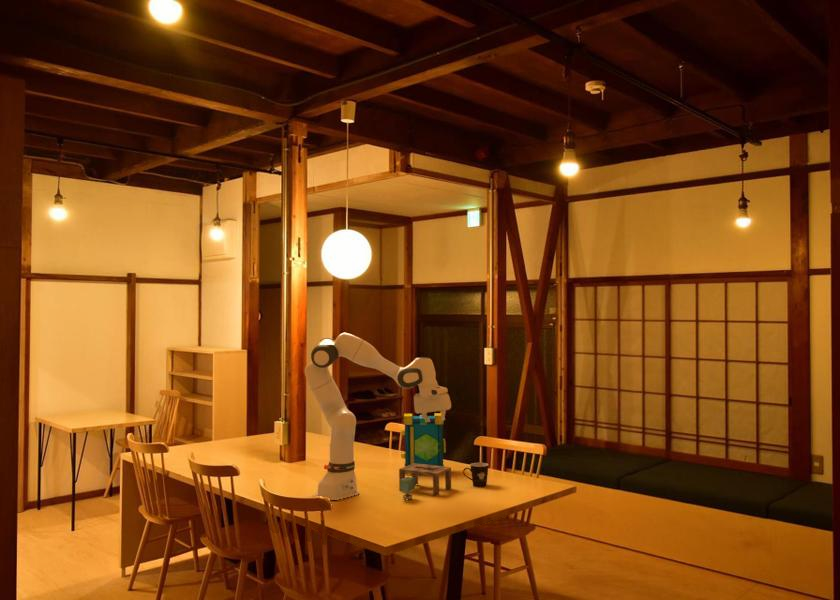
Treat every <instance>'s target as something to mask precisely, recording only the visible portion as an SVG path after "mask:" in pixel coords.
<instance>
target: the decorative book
mask: <svg viewBox="0 0 840 600" xmlns="http://www.w3.org/2000/svg"><path fill="white" fill-rule="evenodd" d="M441 414H442V413H440V412H439V413H437V412H434V415H427V417H428V418H430V422H425V419H424V417H423V416H422V414H420V415H413V413H403V425H404V430H403V429H402V430H400V435H401V436H404V446H405V447H404V452H402V453H400V458H401V459H404V460H405V462H404V467H406V466H408V465H411V464H414V463H417V464H426V465H435V466H444V467H445V464H444V453H447V452H446V451H447V449H446V448H447V445H446V442H447V441H446V439H445V438H444V421H440V417H441ZM432 471H433V470H432ZM405 474H412V473H407V472H405ZM441 475H442V476H443V475H444V476H445V473H443V474H441Z"/></svg>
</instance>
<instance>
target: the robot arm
mask: <svg viewBox="0 0 840 600" xmlns="http://www.w3.org/2000/svg"><path fill="white" fill-rule="evenodd" d="M339 357H341V358H346V359H348V360H349V361H351V362H352V363H355V364H356V365H359V366H362V367H366V368H370V369H374V370H377V371H379V372H381V373H383V374H385V375H386V376H387V377H390V378H391V379H393V381H394V382H395V383H396V385H397V386H398V387H399V388H402V389H407V390H408V389H412V388H414V387H415V386H418V390H419V392H418V393H415V394H414V396H413V404H414V405H413V406H414V413H416V414H418V415H419V414H421V415H422V416H423V417H424V419H425V422H430V418H428V417H427V416H428V413H433V412H434V413H436V412H439V413H442V414H441V417H440V421H443V422H444V421H446V417H445V416H446V412H447V411H449V410H451V408H452V401H451V398H450V395H449V393H448V391H449V390H448V388H447V387H445V386H441V385H439V384H438V381H437V379H436V377H437V375H436V374H437V373H436V369H435V365H434V363H433V360H432V359H431V358H430V357H425V356H424V357H423V356H422V357H421V356H419V357H415V358H414V359H413V361H411V362H410V363H408V365H406V366H401V365H397V364H396V363H394V362H392V361H390V360H388V359H387V358H385V357H383V356H382V355H381V354H380V352H379V351H378V350H377V348H375V346H373V345H372V344H371V343H370V342H368V341H366V340H364V339H363V338H361V337H358V336H356V335H354V334H351V333H347V332H342V333H340V334H339V335H338V336H337V337H336V339H333V338H332V337H331V338H330V337H326V338H322V339H320V340H319V341H318V342H317V343H316V344H314V347H313V349H312V350H311V353H310V359H311V362H309V363H308V364H307V365H305V368H304V376H305V378H306V382H307V384H308V386H309V389H310V390H311V391H312V393H313V395H314V397H315V399H316V401H317V403H318V405H319V407H320V408H321V412H322V414H323V415H324V418H325V420H326V422H327V424H328V425H329V427H330V428H331V433H330V434H331V435H330V443H329V461H328V464H324V466H323V469H324V470H326V473H325V474H324V476H322V478H321V480H320V481H319V482H318V485H317V492H315V493H313V494H312V496H313V497H315V496H322V497H327V498H329V499H330V500H338V501H340V500H339V499H341V500H344V499H343V498H345V499H347V497H348V498H351V496H352V497H355V496H358V494H359V495H360V491H359V490H358V482H357V481H358V480H357V475H356V473H355V469H356V462H355V460H354V456H355V455H354V452H355V451H354V447H355V446H354V443H355V435H356V426H357V418H356V416H355V414H354V413H353V412H352V411H350V410H349V409H348V407H347V405H346V403H345V401H344V398H343V397H342V394H341V391H340V389H339V387H338V385H337V384H336V383H337V382H335V379H334V378H333V376H332V374H331V373H330V370H329V366H332V365H333V363H335V361H337V360H338V359H339ZM354 495H355V496H354Z"/></svg>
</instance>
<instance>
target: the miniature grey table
mask: <svg viewBox="0 0 840 600" xmlns="http://www.w3.org/2000/svg"><path fill="white" fill-rule="evenodd" d="M432 470H433V471H432ZM398 472H399V473H398V476H399V479H398V482H399V483H398V486H399V487H398V489H399V490H400V480H401V479H403V478H405V477H406V475H405V472H407V473H412V475H411V476H412V478H415V486H417V485H416V484H418V485H419V475H425V476H432V486H433V487H432V489H433V490H432V494H433V496H436V495H438V496H440V475H441V474H443V473H444V476H445V480H444V481H445V490H449V491H450V490H452V467H450V466H445V465H444V466H435V465H426V464H417V463H414V464H411V465H408V466H406V467H405V466H404V467H400V468H398Z"/></svg>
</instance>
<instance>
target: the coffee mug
mask: <svg viewBox="0 0 840 600" xmlns="http://www.w3.org/2000/svg"><path fill="white" fill-rule="evenodd" d="M466 470H469V471H470V473H471V477H469V476H468V475H466V474H465V471H466ZM488 472H489V463H487V462H486V463H485V462H472V463H470V467H465V468H463V470H462V474H463V475H464V477H466V478H467V479H469V480H471V481H472V486H473V487H475V488H485V487H487V485H488V483H487V482H488V475H489V473H488Z"/></svg>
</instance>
